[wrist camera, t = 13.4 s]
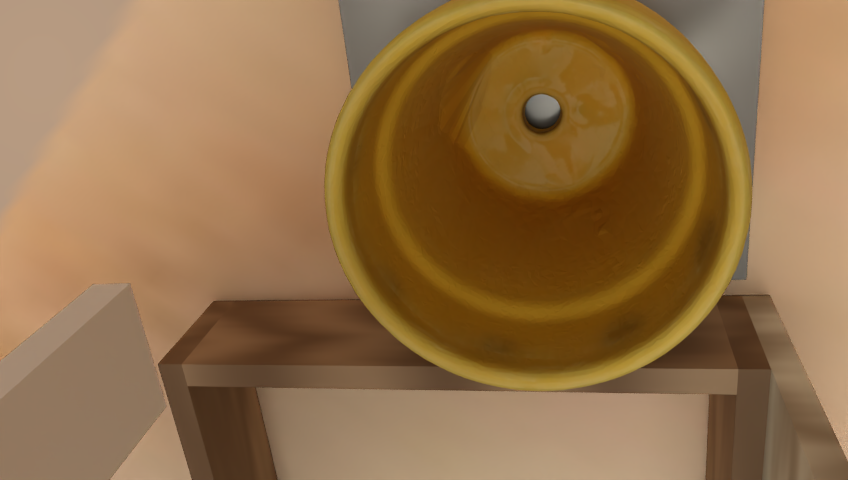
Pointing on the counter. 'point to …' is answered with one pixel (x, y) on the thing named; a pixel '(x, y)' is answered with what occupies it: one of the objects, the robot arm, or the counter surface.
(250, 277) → the counter surface
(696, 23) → the slate pad
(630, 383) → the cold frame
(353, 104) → the plant pot
